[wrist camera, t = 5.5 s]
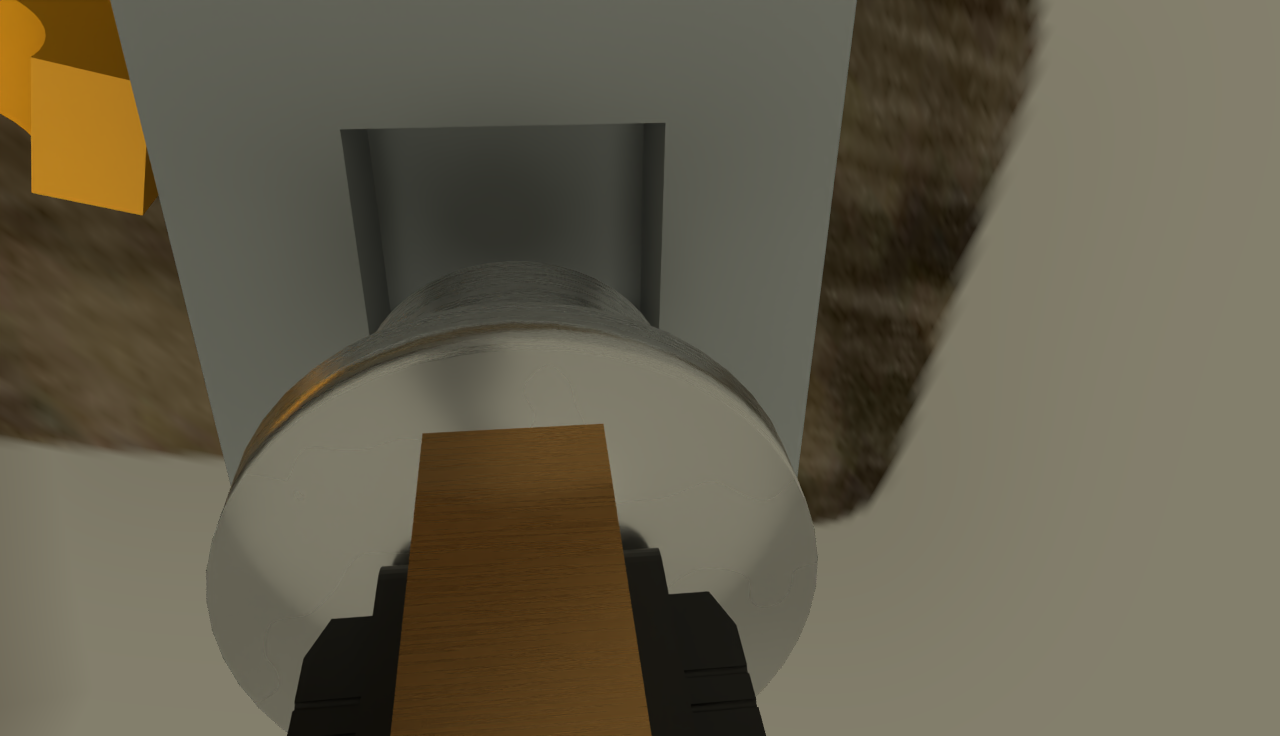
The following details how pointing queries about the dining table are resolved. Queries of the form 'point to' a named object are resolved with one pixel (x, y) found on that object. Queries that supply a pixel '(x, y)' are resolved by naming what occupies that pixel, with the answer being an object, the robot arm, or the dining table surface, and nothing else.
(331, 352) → the bearing housing
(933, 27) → the dining table surface
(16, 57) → the pipe clamp
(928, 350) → the dining table surface
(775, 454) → the end cover
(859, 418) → the dining table surface
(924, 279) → the dining table surface
